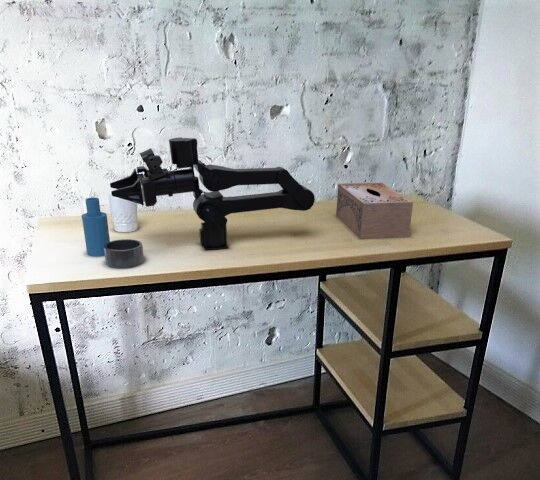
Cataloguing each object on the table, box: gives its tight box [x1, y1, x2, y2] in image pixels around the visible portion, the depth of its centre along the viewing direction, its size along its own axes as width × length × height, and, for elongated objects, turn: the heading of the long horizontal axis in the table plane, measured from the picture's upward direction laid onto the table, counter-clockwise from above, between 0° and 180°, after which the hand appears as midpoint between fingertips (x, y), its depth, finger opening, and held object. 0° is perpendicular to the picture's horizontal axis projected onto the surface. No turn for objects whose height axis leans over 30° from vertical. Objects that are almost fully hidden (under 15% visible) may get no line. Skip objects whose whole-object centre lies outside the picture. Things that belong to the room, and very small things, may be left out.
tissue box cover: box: [335, 182, 414, 240], centre depth 169 cm, size 26×14×10 cm, turn 10°
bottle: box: [81, 196, 111, 258], centre depth 142 cm, size 6×6×14 cm
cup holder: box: [104, 238, 145, 270], centre depth 138 cm, size 9×9×4 cm
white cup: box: [107, 193, 139, 233], centre depth 162 cm, size 8×8×10 cm
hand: (110, 189), depth 138 cm, fingers open, 9 cm apart
